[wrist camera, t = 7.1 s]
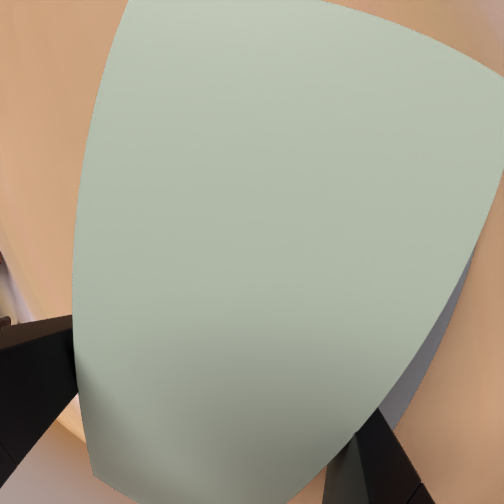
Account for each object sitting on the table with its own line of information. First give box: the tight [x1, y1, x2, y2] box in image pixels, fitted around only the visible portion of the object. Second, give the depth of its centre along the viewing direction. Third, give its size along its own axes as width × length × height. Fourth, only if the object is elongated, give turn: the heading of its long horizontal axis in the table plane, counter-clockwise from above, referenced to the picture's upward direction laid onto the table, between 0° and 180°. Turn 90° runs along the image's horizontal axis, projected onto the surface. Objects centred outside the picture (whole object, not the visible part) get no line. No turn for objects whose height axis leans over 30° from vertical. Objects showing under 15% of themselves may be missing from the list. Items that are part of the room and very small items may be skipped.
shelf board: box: [72, 0, 504, 504], centre depth 8 cm, size 6×16×4 cm, turn 163°
